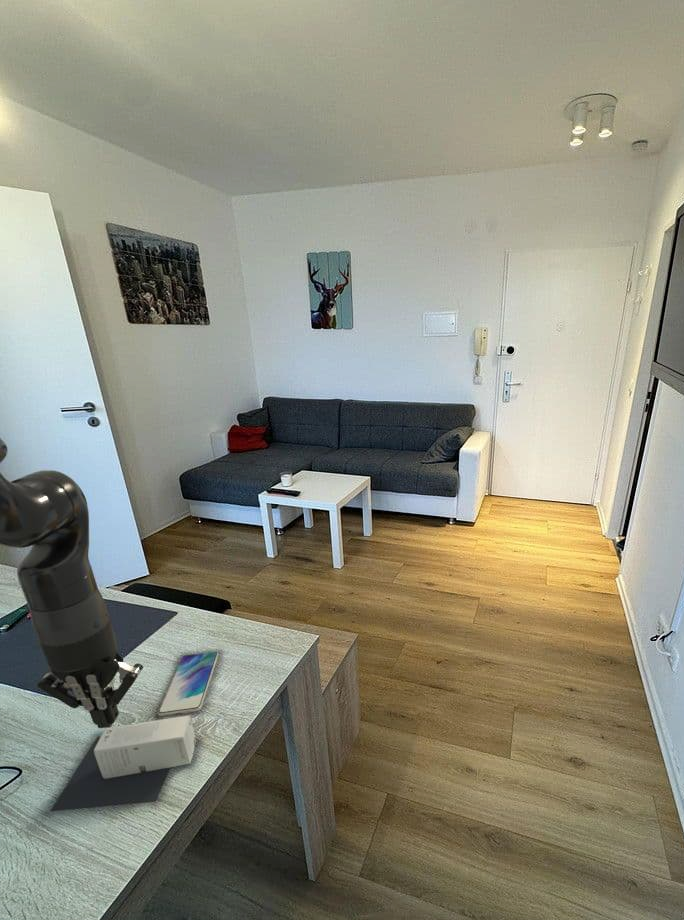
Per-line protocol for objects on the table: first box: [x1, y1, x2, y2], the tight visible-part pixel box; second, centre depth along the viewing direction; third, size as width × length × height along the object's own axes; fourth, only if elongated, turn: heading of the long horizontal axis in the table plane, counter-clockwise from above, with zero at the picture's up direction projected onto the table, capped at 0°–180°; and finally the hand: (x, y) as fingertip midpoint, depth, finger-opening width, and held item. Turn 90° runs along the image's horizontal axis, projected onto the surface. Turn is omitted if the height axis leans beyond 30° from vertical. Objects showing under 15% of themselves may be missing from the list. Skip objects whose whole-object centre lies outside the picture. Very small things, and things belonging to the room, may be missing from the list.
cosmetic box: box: [94, 715, 197, 779], centre depth 66 cm, size 6×4×12 cm
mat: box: [49, 735, 171, 812], centre depth 66 cm, size 14×12×1 cm
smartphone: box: [157, 651, 219, 717], centre depth 82 cm, size 7×1×15 cm
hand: (107, 722), depth 62 cm, fingers closed
